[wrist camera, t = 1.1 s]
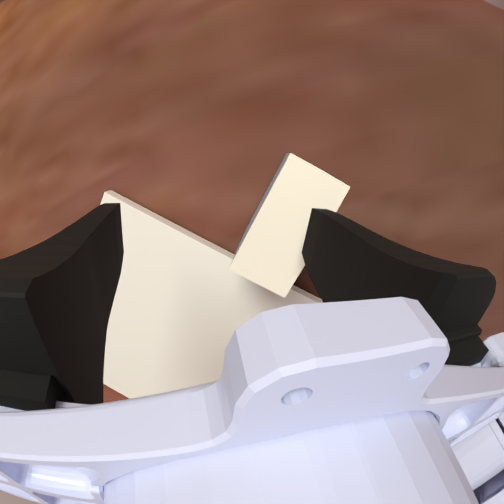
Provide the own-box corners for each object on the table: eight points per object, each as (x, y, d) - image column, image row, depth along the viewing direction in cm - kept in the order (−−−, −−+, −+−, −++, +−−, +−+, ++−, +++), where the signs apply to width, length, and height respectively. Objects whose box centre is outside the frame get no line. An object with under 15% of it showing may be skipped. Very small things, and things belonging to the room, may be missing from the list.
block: (325, 174, 21) (350, 186, 13) (283, 249, 23) (284, 297, 15) (286, 153, 21) (290, 153, 13) (245, 229, 23) (228, 269, 15)
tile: (322, 299, 24) (324, 305, 23) (223, 434, 29) (222, 441, 28) (111, 190, 22) (104, 191, 22) (68, 353, 28) (63, 358, 27)
